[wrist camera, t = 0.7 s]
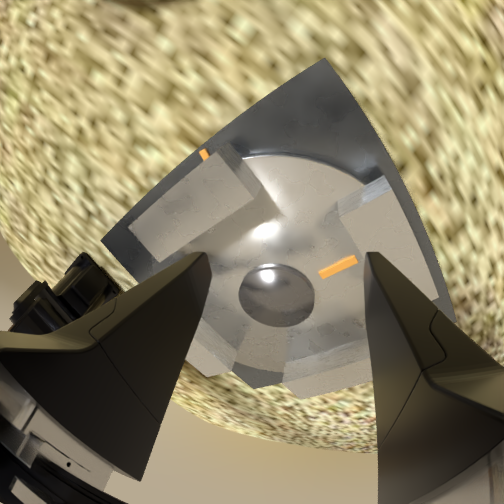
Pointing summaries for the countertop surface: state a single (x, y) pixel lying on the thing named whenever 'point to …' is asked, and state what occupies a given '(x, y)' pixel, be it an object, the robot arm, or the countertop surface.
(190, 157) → the base plate
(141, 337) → the robot arm
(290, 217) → the slotted metal disc
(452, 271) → the countertop surface
